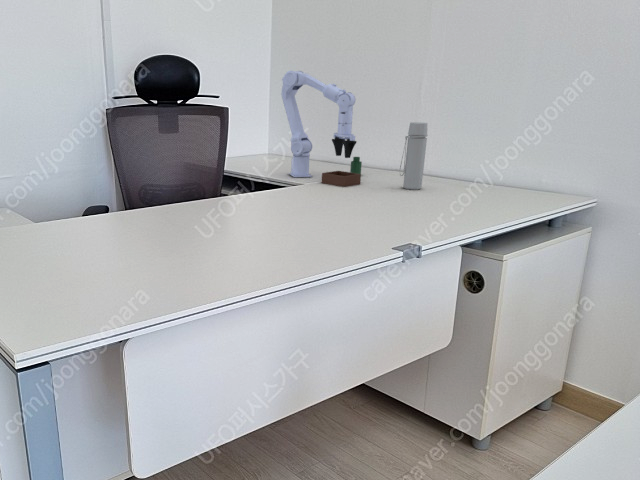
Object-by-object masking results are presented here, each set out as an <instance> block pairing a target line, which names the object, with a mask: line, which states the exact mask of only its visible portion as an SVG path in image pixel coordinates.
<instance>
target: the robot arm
mask: <svg viewBox="0 0 640 480" xmlns="http://www.w3.org/2000/svg"><path fill="white" fill-rule="evenodd" d="M281 81H282V87H281V93H280V95H281V99H282V103H283V107H284V111H285V113H286V117H287V121H288V125H289V128H290V132H291V137H290V151H291V153H292V158H291V160H290V161H291V166H290V167H291V168H290V172H289V173H288V175H290V176H292V177H293V178H312V175H311V174H310V157H311V156H310V154H311V152H312V150H313V143H312V141H311V140H310V139H309V136H308V134H307V133H306V132H305V129H304V126H303V121H302V118H301V115H300V111H299V107H298V103H297V100H296V94H297V93H298V91H299V90H300V88H302V87H303V86H304V85H306V86H309V87H311V88H313V89H315V90H317V91H320V92H321V93H322V94H323V95H322V96H323V97H324V98H326V99H328V100H330V101H331V102H333V103H335V104H336V105H337V106H338V119H337V120H338V121H337V132H333V138H332V139H331V141H332V144H333V147H334V152H335V156H336V157H341V156H342V154H343V148H344V158H345V159H350V158H351V156H352V153H353V149H354V147H355V146H356V144H357V140H356V135H354V133H352V130H353V128H352V127H353V114H354V110H353V109H354V105H355V104H356V96H355V94H353V93H352V92H347V90H346V89H342V88H340V87H339V86H338V85H337V84H336V83H328V84H326V83H324V82H322V81H321V80H319V79H318V78H316V77H314V76H312V75H311V74H309V73H307V72H304V71H302V70H288V71H286V73H284V75H283V77H282V79H281Z"/></svg>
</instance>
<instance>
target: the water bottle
mask: <svg viewBox="0 0 640 480" xmlns="http://www.w3.org/2000/svg"><path fill="white" fill-rule="evenodd" d="M428 124H429V123H428V122H421V121H420V122H419V121H418V122H417V121H415V122H413V121H412V122H409V127H408V130H407V131H408V132H407V135H405V143H404V147H403V152H402V155H401V161H400V165H399V170H401V168H402V163H403V173H402V174H401V173H399V176H400V177H403V184H402V187H403V189H405V190H411V191H416V190H417V191H418V190H420V189H422V185H423V179H424V168H425V161H426V160H425V159H426V153H427V152H426V149H427V143H428ZM404 157H405V160H404V162H403V159H404Z"/></svg>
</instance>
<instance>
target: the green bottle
mask: <svg viewBox="0 0 640 480" xmlns="http://www.w3.org/2000/svg"><path fill="white" fill-rule="evenodd" d="M362 163H363V161H361V157H360V156H353V158H352V160H351V161H350V171H349V172H350V173H357V174H361V175H362Z"/></svg>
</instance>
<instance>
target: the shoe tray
mask: <svg viewBox="0 0 640 480" xmlns="http://www.w3.org/2000/svg"><path fill="white" fill-rule="evenodd" d="M361 177H362V173H361V174H357V173H350V171H344V170H334V171H327V172H322V173H321V184H325V185H332V186H338V187H343V188H345V187H351V186H356V185H357V186H358V185H361Z"/></svg>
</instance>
